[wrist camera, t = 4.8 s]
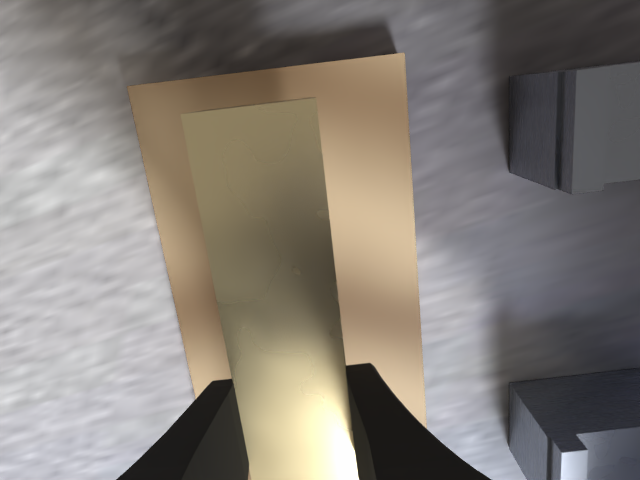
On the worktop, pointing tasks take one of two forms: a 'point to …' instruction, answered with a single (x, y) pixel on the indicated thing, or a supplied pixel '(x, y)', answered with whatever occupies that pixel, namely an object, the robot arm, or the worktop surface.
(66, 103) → the worktop surface
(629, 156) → the post
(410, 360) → the board
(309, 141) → the rail
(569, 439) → the post
